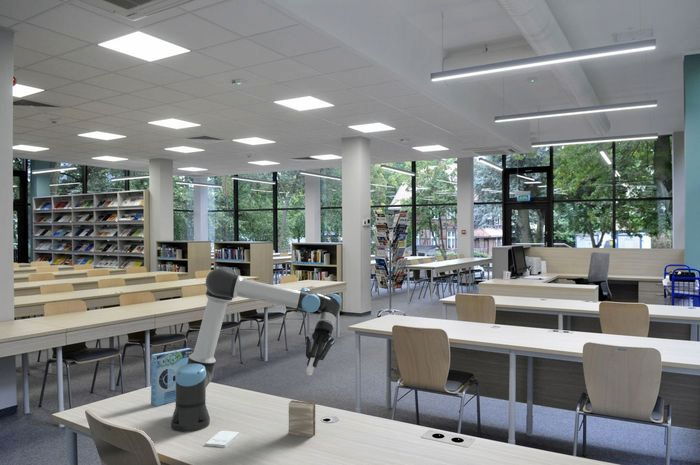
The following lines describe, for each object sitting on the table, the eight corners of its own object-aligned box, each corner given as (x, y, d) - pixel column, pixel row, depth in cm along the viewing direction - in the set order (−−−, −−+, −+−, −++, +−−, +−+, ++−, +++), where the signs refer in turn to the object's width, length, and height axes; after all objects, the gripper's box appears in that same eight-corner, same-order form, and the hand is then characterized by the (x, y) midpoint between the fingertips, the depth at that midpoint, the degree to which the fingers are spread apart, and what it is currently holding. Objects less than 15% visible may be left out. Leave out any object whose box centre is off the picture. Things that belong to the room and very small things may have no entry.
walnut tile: (312, 437, 188) (312, 405, 189) (288, 433, 192) (288, 402, 192) (315, 434, 191) (315, 403, 192) (292, 430, 195) (292, 400, 195)
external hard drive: (239, 436, 191) (225, 449, 179) (219, 434, 193) (204, 447, 180) (239, 431, 191) (225, 444, 179) (219, 430, 193) (204, 442, 180)
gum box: (156, 407, 223) (156, 356, 224) (150, 404, 226) (150, 354, 227) (193, 396, 238) (194, 349, 239) (187, 394, 241) (187, 347, 242)
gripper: (341, 331, 214) (326, 380, 198) (314, 329, 219) (297, 377, 203) (336, 320, 209) (321, 369, 193) (308, 319, 214) (291, 367, 198)
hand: (308, 373), depth 198 cm, fingers closed
